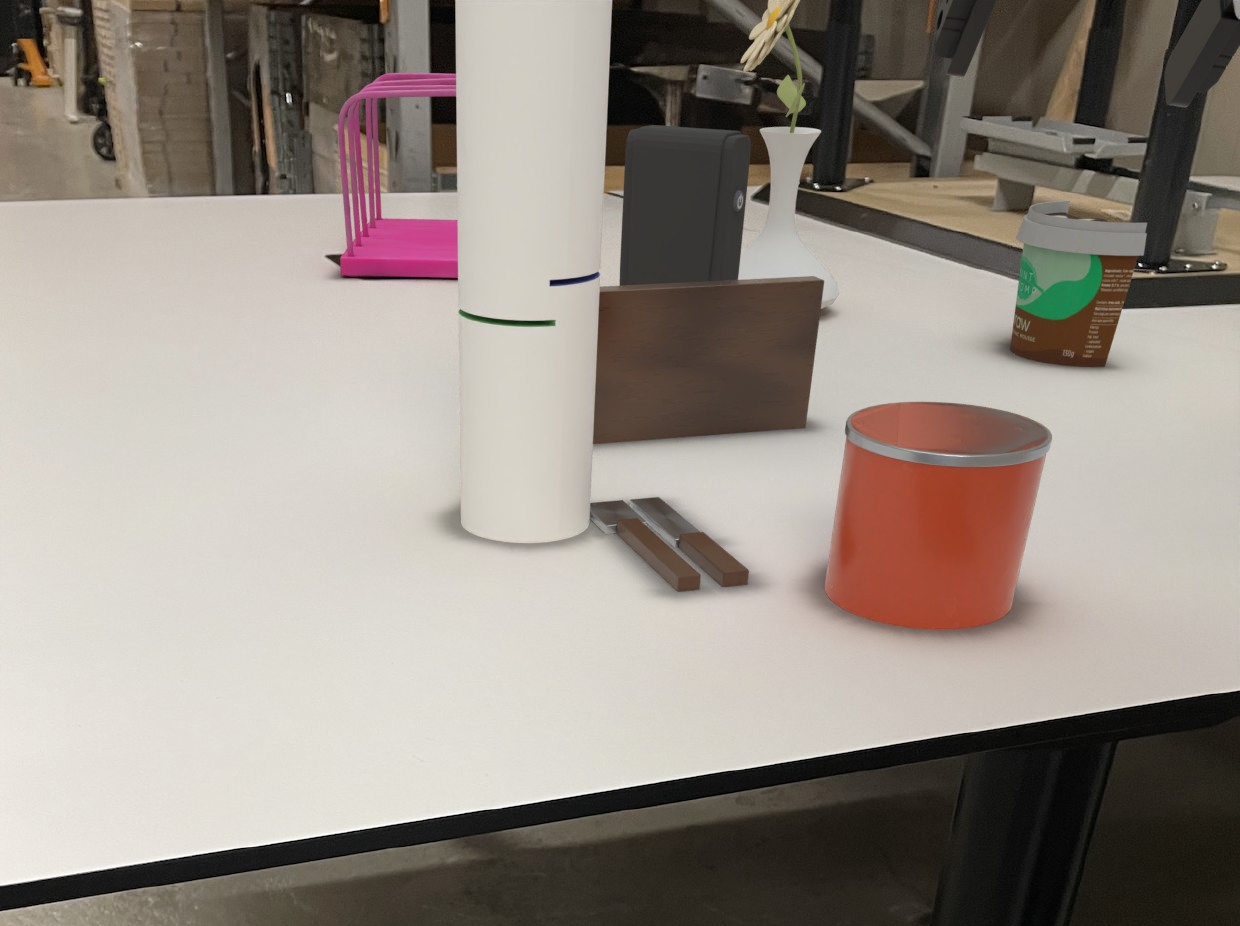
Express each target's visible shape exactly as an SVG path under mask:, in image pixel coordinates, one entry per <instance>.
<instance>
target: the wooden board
mask: <svg viewBox="0 0 1240 926" xmlns="http://www.w3.org/2000/svg"><path fill="white" fill-rule="evenodd" d="M823 288H824V280H822V279H820V278H817V277H815V276H805V277H785V278H764V279H744V280H724V281H703V282H683V283H663V284H643V285H622V286H619V285H607V286H606V285H605V286H602V285H601V286H600V292H599V315H598V337H597V360H596V383H595V406H594V429H593V445H599V444H612V443H625V442H638V441H652V440H664V439H665V440H666V439H679V438H692V437H705V436H719V435H732V434H744V433H757V432H758V433H759V432H771V431H783V430H785V431H786V430H797V429H806V428H807V419H808V414H809V413H808V412H809V403H810V397H811V387H812V380H813V374H814V367H815V366H814V364H815V357H816V351H817V343H818V342H817V341H818V335H819V327H820V318H821V311H822V309H821V304H822V296H823Z"/></svg>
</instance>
